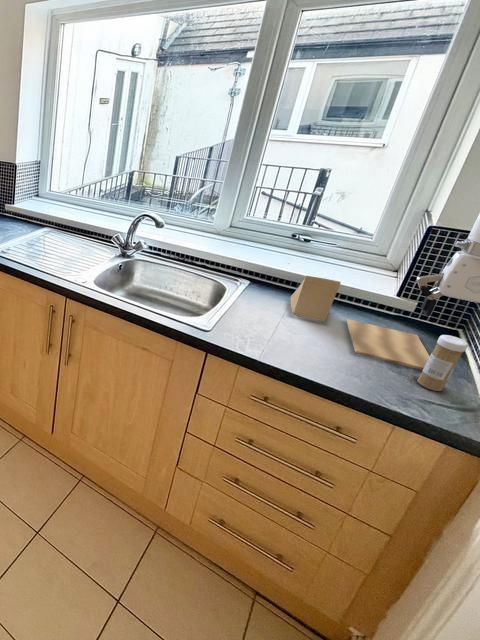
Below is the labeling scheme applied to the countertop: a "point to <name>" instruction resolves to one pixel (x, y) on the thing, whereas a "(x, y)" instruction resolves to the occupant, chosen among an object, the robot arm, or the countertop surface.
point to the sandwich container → (314, 297)
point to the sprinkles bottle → (442, 362)
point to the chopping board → (388, 344)
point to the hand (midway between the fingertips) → (454, 319)
